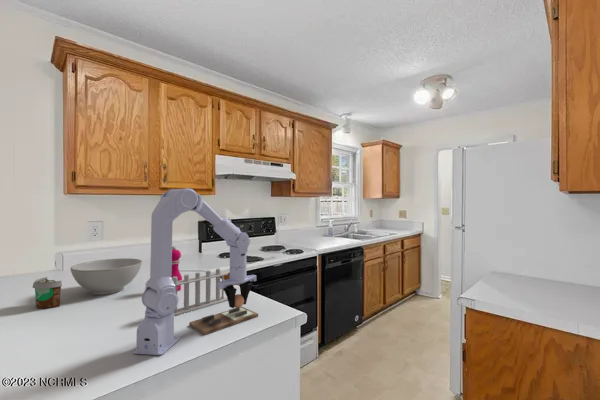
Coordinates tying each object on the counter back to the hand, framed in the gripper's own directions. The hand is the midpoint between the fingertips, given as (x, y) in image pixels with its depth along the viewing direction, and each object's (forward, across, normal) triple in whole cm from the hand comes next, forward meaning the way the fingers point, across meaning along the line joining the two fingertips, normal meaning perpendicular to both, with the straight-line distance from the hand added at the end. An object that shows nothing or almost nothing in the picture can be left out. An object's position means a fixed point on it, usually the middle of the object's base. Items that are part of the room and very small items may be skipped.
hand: (237, 305), depth 100 cm
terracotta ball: (-2, 0, 0) cm, 2 cm away
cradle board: (+4, +5, 0) cm, 6 cm away
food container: (+4, +46, -61) cm, 76 cm away
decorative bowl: (+4, +24, -68) cm, 72 cm away
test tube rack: (+4, +6, -19) cm, 20 cm away
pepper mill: (+4, +3, -48) cm, 48 cm away
